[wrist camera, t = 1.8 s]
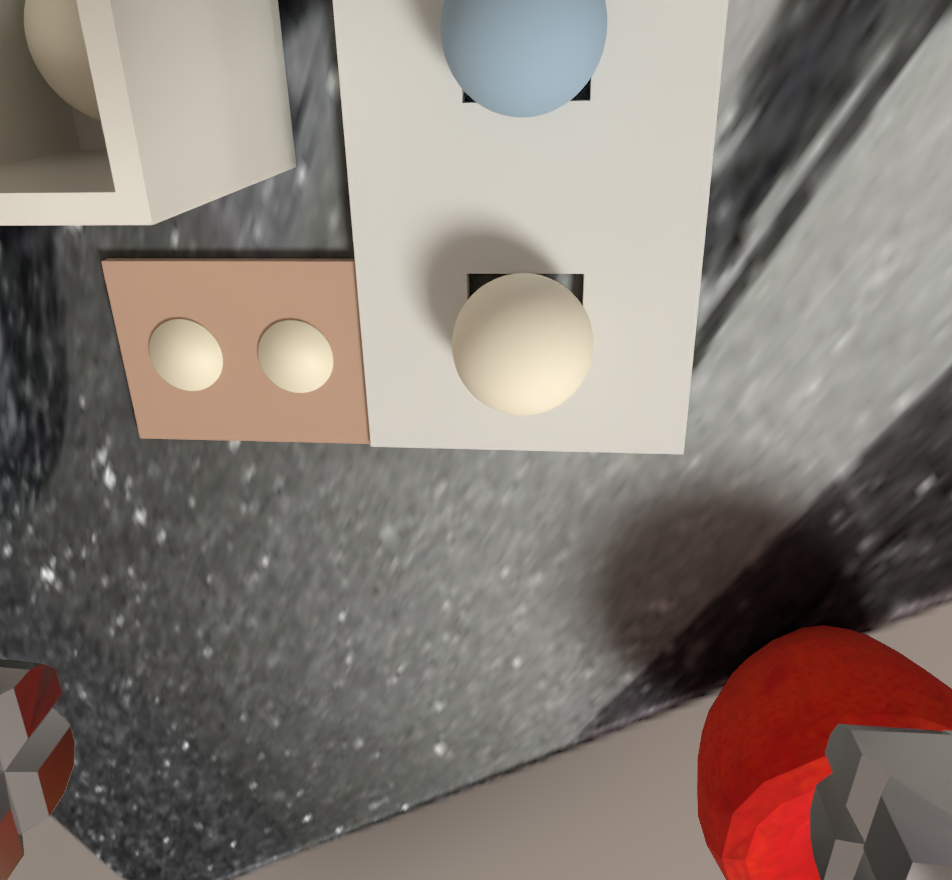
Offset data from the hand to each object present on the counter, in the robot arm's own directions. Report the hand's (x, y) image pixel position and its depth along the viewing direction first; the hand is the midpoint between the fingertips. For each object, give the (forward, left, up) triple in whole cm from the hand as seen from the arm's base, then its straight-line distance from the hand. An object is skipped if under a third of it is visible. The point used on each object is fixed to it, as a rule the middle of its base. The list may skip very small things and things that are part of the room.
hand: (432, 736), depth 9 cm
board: (0, -3, -18) cm, 18 cm away
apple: (-10, +14, -18) cm, 25 cm away
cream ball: (0, +1, -18) cm, 18 cm away
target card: (+9, +2, -18) cm, 20 cm away
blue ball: (0, -7, -18) cm, 19 cm away
